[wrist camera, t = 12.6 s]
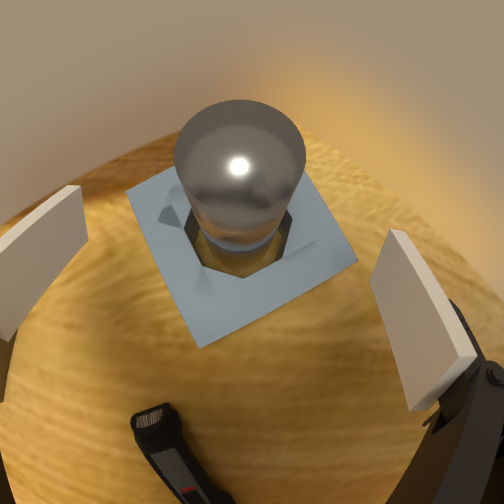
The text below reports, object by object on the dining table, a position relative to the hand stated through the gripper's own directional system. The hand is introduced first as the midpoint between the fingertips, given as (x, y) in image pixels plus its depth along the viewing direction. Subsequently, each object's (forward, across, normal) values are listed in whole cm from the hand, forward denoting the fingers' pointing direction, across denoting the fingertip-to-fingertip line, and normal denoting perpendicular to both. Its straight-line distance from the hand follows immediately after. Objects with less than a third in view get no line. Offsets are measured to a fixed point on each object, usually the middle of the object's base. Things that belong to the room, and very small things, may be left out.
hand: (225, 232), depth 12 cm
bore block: (+7, 0, -5) cm, 9 cm away
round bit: (+7, 0, -5) cm, 9 cm away
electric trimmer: (-5, 0, -18) cm, 19 cm away
